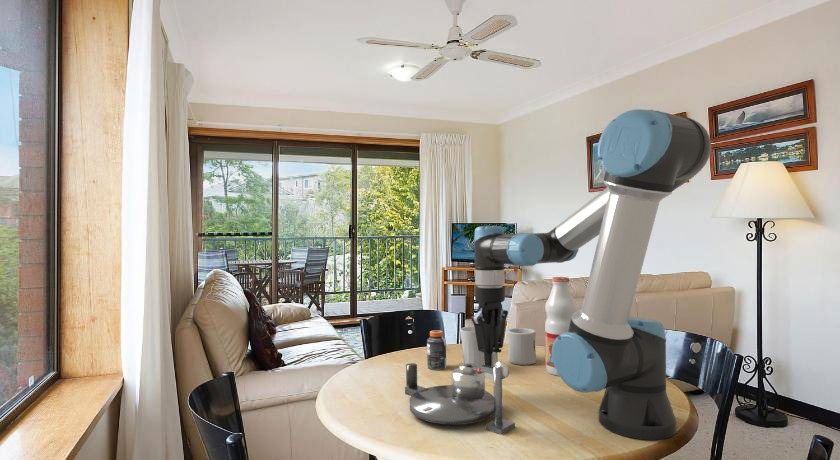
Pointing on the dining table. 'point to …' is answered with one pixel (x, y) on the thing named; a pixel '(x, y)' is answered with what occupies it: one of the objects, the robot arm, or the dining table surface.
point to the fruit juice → (557, 316)
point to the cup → (471, 347)
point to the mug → (521, 346)
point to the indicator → (498, 397)
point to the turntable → (445, 402)
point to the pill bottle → (436, 350)
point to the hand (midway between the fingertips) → (491, 377)
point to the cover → (468, 381)
